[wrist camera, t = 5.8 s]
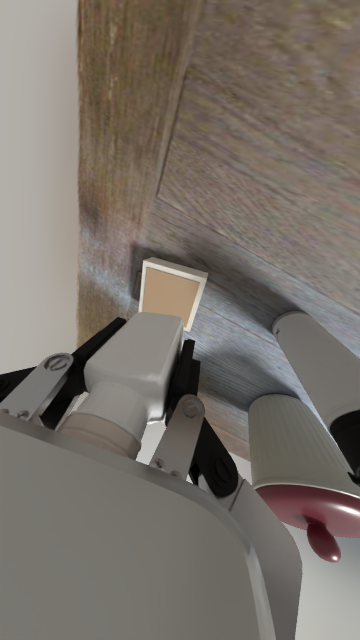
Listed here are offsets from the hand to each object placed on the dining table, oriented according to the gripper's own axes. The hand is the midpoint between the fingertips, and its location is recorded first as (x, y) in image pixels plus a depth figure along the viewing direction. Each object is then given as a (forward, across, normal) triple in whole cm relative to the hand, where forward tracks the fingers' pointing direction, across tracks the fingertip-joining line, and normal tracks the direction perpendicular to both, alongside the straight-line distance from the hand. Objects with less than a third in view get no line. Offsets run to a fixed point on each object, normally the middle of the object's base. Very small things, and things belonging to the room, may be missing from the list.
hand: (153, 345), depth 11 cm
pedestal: (+18, +2, +2) cm, 18 cm away
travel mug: (+18, -20, +3) cm, 27 cm away
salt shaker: (+2, 0, 0) cm, 2 cm away
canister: (+18, -30, +25) cm, 43 cm away
